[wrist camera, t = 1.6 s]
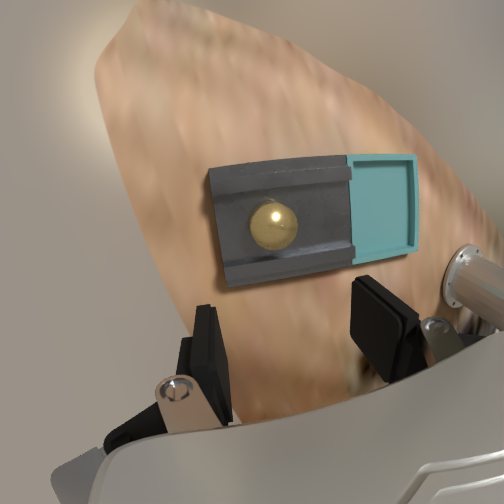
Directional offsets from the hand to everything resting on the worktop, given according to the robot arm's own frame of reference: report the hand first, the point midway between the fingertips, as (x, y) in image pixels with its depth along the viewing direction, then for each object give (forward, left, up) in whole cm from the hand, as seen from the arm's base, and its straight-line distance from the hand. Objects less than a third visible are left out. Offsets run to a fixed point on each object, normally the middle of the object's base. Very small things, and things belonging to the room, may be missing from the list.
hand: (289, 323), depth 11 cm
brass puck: (-3, 0, -21) cm, 21 cm away
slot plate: (-5, 0, -23) cm, 23 cm away
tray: (-19, 0, -23) cm, 29 cm away
